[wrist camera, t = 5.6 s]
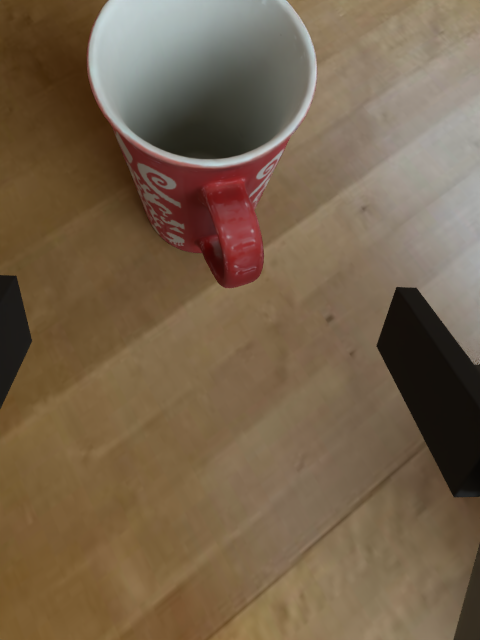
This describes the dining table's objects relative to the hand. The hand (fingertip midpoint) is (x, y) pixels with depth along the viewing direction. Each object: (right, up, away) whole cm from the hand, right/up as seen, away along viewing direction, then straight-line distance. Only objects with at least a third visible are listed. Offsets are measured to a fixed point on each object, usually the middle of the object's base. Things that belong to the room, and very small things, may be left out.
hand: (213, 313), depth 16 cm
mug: (-2, +6, +15) cm, 16 cm away
